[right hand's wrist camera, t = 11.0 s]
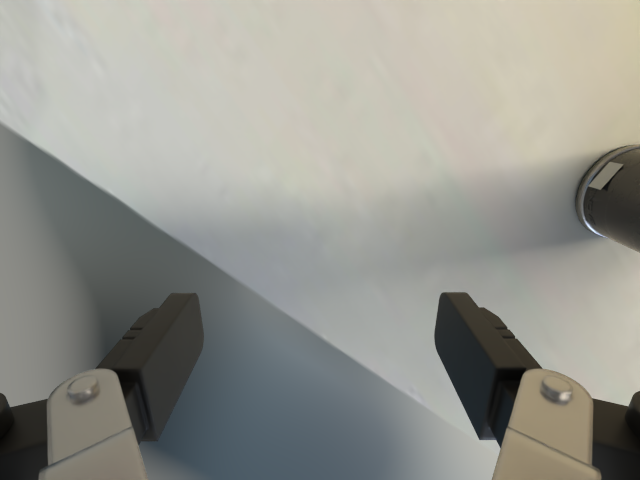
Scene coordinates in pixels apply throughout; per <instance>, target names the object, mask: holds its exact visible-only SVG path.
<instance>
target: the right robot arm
mask: <svg viewBox="0 0 640 480" xmlns="http://www.w3.org/2000/svg"><path fill="white" fill-rule="evenodd" d="M576 211H577V215H578V218H579V220H580V221H581V223H582V224H583V225H584V226H585V227H586V228H587V229H588V230H590V231H591V232H593V233H596V234H598V235H600V236H603V237H606V238H609V239H612V240H614V241H616V242H618V243H620V244H622V245H624V246H626V247H629V248H631V249H633V250H635V251H638V252H640V145H631V146H626V147H623V148H620V149H617V150H615V151H613V152H611V153H609V154H607V155H606V156H604V157H603V158H602V159H600V160H599V161H598V162H597V163H596V164H595V165H594V166H593V167H592V168H591V169H590V170H589V171H588V173H587V174H586V175H585V177H584V178H583V180H582V182H581V184H580V186H579V189H578V192H577V196H576ZM434 337H435V346H436V350H437V352H438V354H439V357H440V359H441V361H442V363H443V365H444V367H445V369H446V371H447V373H448V375H449V377H450V379H451V381H452V384H453V386H454V388H455V390H456V392H457V394H458V396H459V398H460V400H461V402H462V404H463V406H464V409H465V411H466V413H467V415H468V417H469V419H470V421H471V423H472V425H473V427H474V429H475V431H476V433H477V436H478V438H479V440H497V442H498V444H499V446H500V448H501V450H500V453H499V456H498V460H497V463H496V467H495V470H494V474H493V477H492V480H640V391H639V392H636V393H635V394H634V395H633V397H632V399H631V402H630V404H629V407H628V406H624V405H619V404H615V403H610V402H606V401H602V400H597V399H593V398H591V396H590V394H589V393H588V392H587V391H586V389H585V388H583V387H582V386H581V385H580V384H579V383H577V382H576V381H574V380H573V379H571V378H569V377H567V376H565V375H563V374H561V373H558V372H555V371H552V370H547V369H542V367H541V366H540V365H539V364H538V363H537V362H536V360H535V359H534V358H533V357H532V356H531V354H530V353H529V352H528V351H527V350H526V349H525V347H524V346H523V345H522V344H521V343H520V342H519V340H518V339H515V336H514V335H513V333H512V332H511V331H510V330H508V329H507V326H506V325H505V324H504V323H503V322H502V321H501V319H500V318H499V317H498V316H496V315H495V314H493V313H492V312H490V311H489V310H487V309H485V308H479V307H478V306H477V305H476V303H475V302H474V301H473V300H472V298H471V297H470V296H469V295H468V294H467V293H465V292H443V293H442V294H441V295H440V299H439V305H438V312H437V319H436V326H435V335H434ZM203 341H204V332H203V325H202V318H201V311H200V304H199V298H198V296H197V294H196V293H171V294H170V295H169V296H168V298H167V299H166V300H165V301H164V303H163V304H162V305H161V306H160V308H154V309H152V310H150V311H149V312H147V313H146V314H144V315H143V316H141V317H140V318H139V319H138V320H137V321H136V322H135V323H134V325H133V326H132V327H131V328H130V330H128V331H127V333H126V334H125V335H124V336H123V338H122V340H120V341H119V342H118V343H117V344H116V345H115V346H114V348H113V349H112V350H111V351H110V352H109V353H108V355H107V356H106V357H105V358H104V359H103V360H102V362H101V363H100V364H99V365H98V366H97V367H96V369H93V370H89V371H85V372H82V373H79V374H77V375H75V376H73V377H71V378H69V379H67V380H66V381H64V382H63V383H61V384H60V385H59V386H58V387H57V388H55V389H54V391H53V392H52V393H51V394H50V396H49V398H48V399H45V400H41V401H36V402H32V403H28V404H23V405H19V406H15V407H10V406H9V404H8V402H7V399H6V397H5V396H4V395H3V394H2V393H0V480H148V477H147V474H146V470H145V467H144V463H143V460H142V457H141V453H140V450H139V444H140V442H141V441H158V440H159V438H160V436H161V434H162V431H163V429H164V427H165V425H166V423H167V421H168V419H169V417H170V415H171V413H172V411H173V409H174V407H175V405H176V403H177V401H178V399H179V397H180V395H181V392H182V390H183V388H184V386H185V384H186V382H187V380H188V378H189V376H190V374H191V372H192V370H193V368H194V366H195V364H196V362H197V360H198V357H199V356H200V353H201V351H202V348H203Z"/></svg>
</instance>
